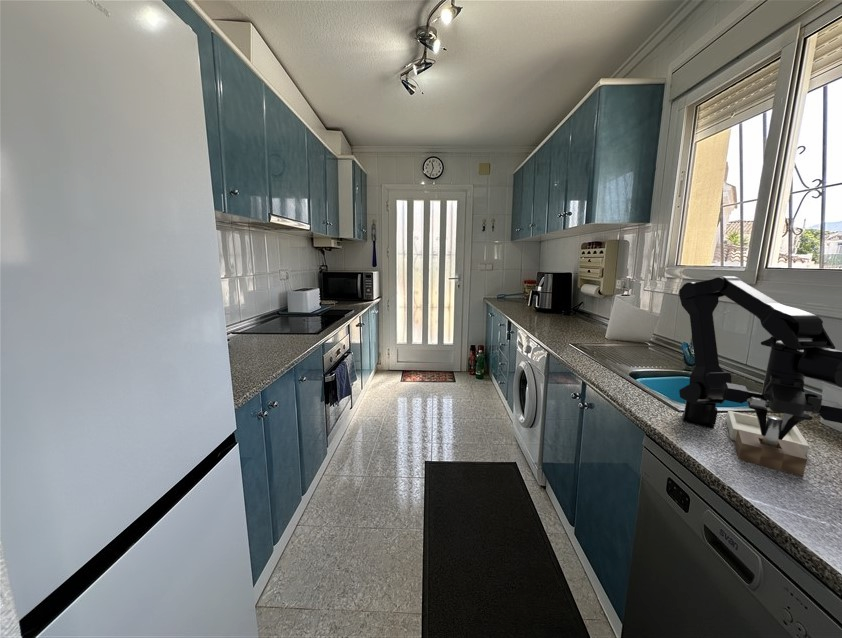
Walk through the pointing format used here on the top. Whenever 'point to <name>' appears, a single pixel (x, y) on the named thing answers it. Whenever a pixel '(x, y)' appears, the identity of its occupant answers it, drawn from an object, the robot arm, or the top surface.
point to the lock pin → (772, 431)
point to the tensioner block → (770, 453)
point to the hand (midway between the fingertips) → (771, 436)
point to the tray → (752, 425)
